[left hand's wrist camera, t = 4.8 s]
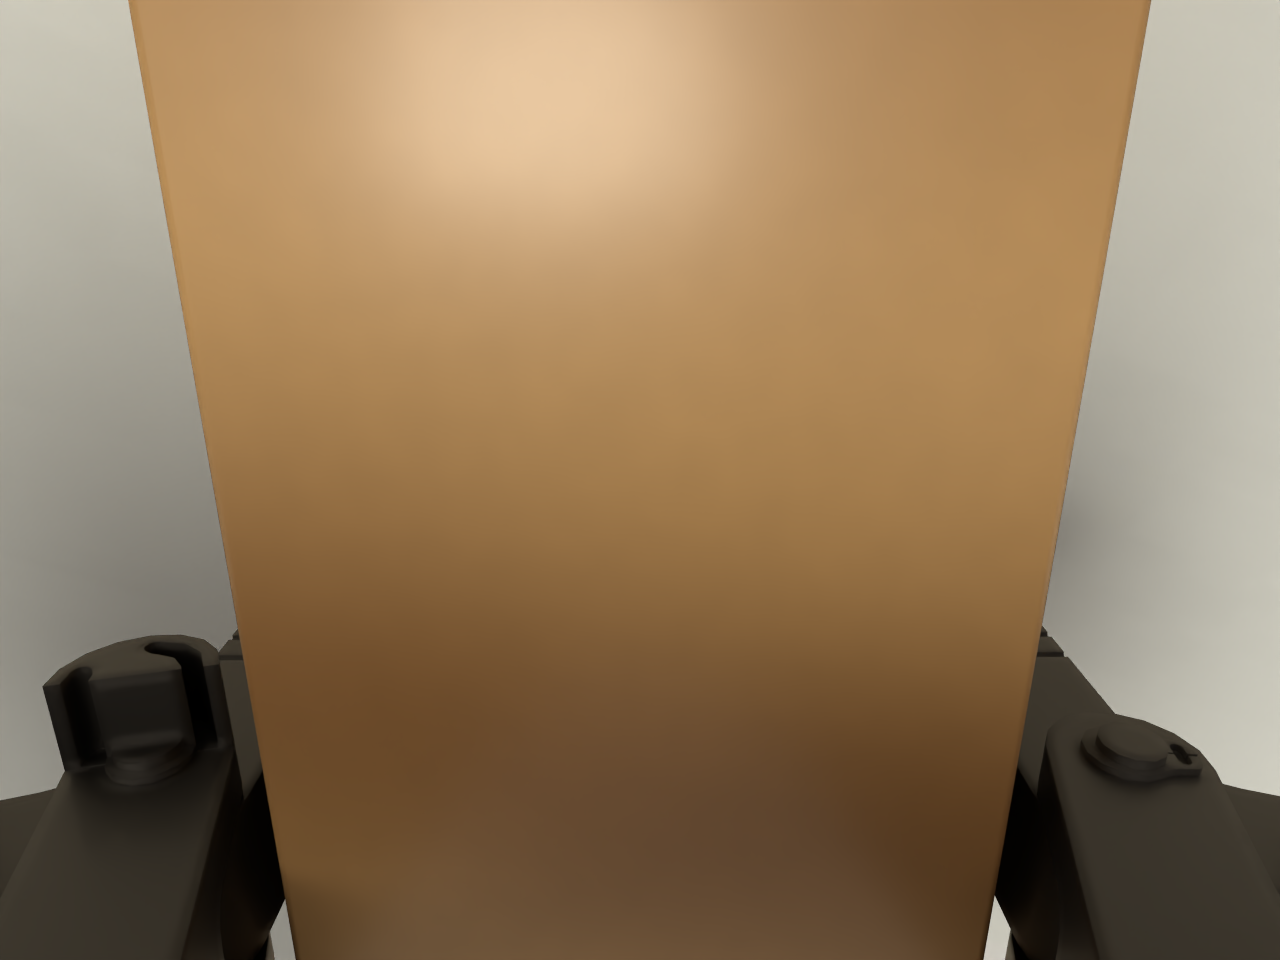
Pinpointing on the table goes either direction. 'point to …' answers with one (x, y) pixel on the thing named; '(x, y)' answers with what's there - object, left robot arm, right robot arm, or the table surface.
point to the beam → (639, 448)
